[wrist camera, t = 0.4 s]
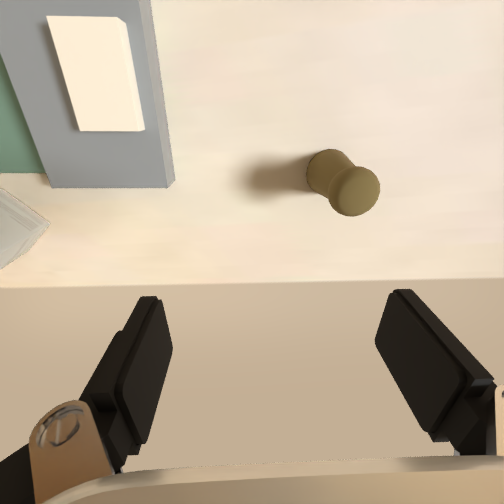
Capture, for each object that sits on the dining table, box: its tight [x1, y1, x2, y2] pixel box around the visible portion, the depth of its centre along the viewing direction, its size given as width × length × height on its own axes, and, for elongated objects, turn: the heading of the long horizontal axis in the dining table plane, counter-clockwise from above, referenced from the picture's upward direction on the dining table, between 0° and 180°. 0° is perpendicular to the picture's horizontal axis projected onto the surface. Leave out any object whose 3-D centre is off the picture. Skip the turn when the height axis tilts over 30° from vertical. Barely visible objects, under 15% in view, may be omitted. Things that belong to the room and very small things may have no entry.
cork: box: [306, 149, 380, 216], centre depth 31 cm, size 6×6×11 cm
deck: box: [0, 0, 175, 188], centre depth 28 cm, size 22×14×4 cm, turn 0°
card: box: [46, 16, 145, 131], centre depth 25 cm, size 9×6×2 cm, turn 0°
